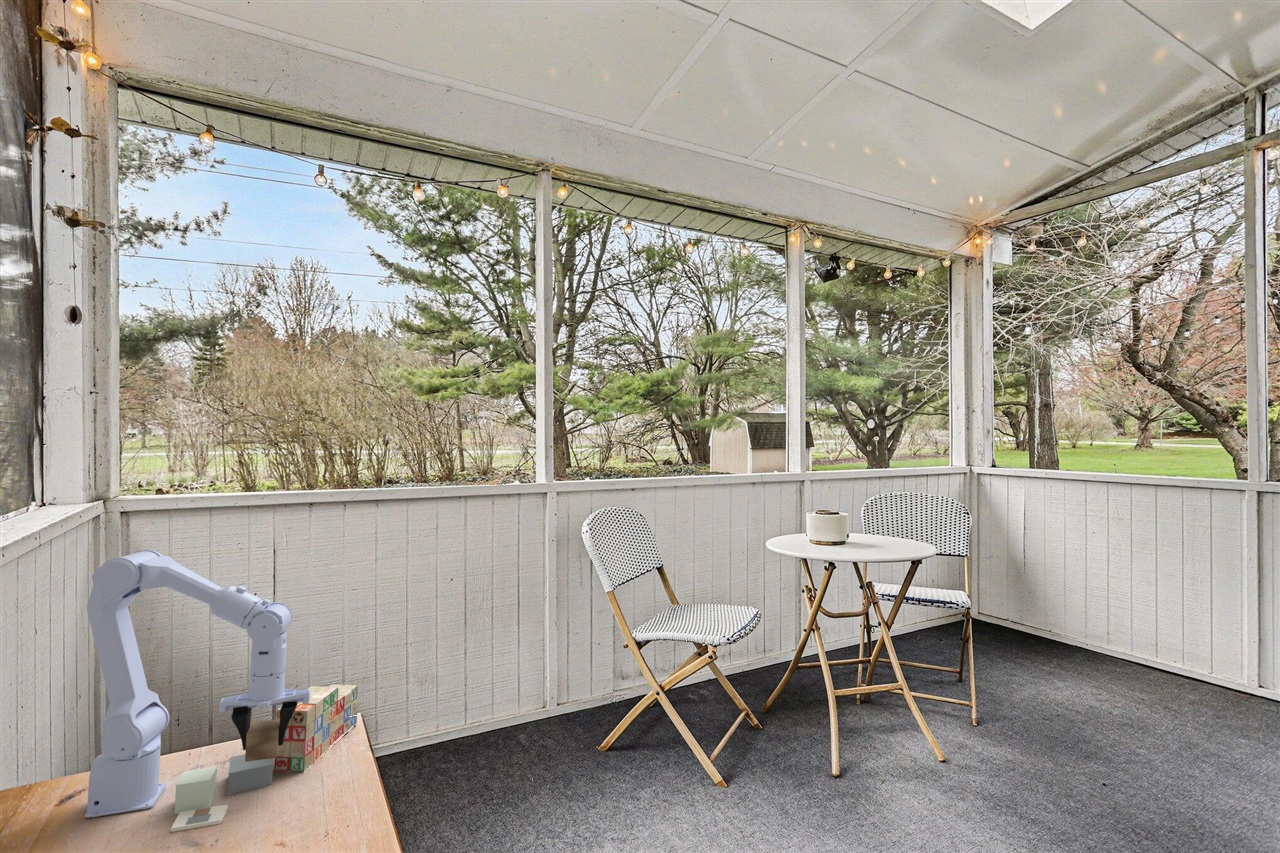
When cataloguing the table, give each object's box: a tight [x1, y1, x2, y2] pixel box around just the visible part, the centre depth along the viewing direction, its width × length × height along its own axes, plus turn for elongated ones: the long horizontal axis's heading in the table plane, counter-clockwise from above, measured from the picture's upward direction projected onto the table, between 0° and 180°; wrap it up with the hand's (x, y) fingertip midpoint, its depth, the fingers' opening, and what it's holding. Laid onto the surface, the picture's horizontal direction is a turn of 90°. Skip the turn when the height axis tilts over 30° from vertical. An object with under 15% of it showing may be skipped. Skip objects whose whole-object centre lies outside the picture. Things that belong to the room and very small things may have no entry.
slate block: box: [227, 754, 274, 795], centre depth 119 cm, size 7×7×4 cm
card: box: [170, 803, 228, 833], centre depth 106 cm, size 7×5×1 cm
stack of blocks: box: [273, 684, 359, 773], centre depth 133 cm, size 21×6×12 cm, turn 178°
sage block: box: [174, 765, 218, 815], centre depth 111 cm, size 5×5×5 cm
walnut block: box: [245, 718, 281, 762], centre depth 116 cm, size 5×5×5 cm
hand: (263, 745), depth 116 cm, fingers closed on walnut block, 5 cm apart
